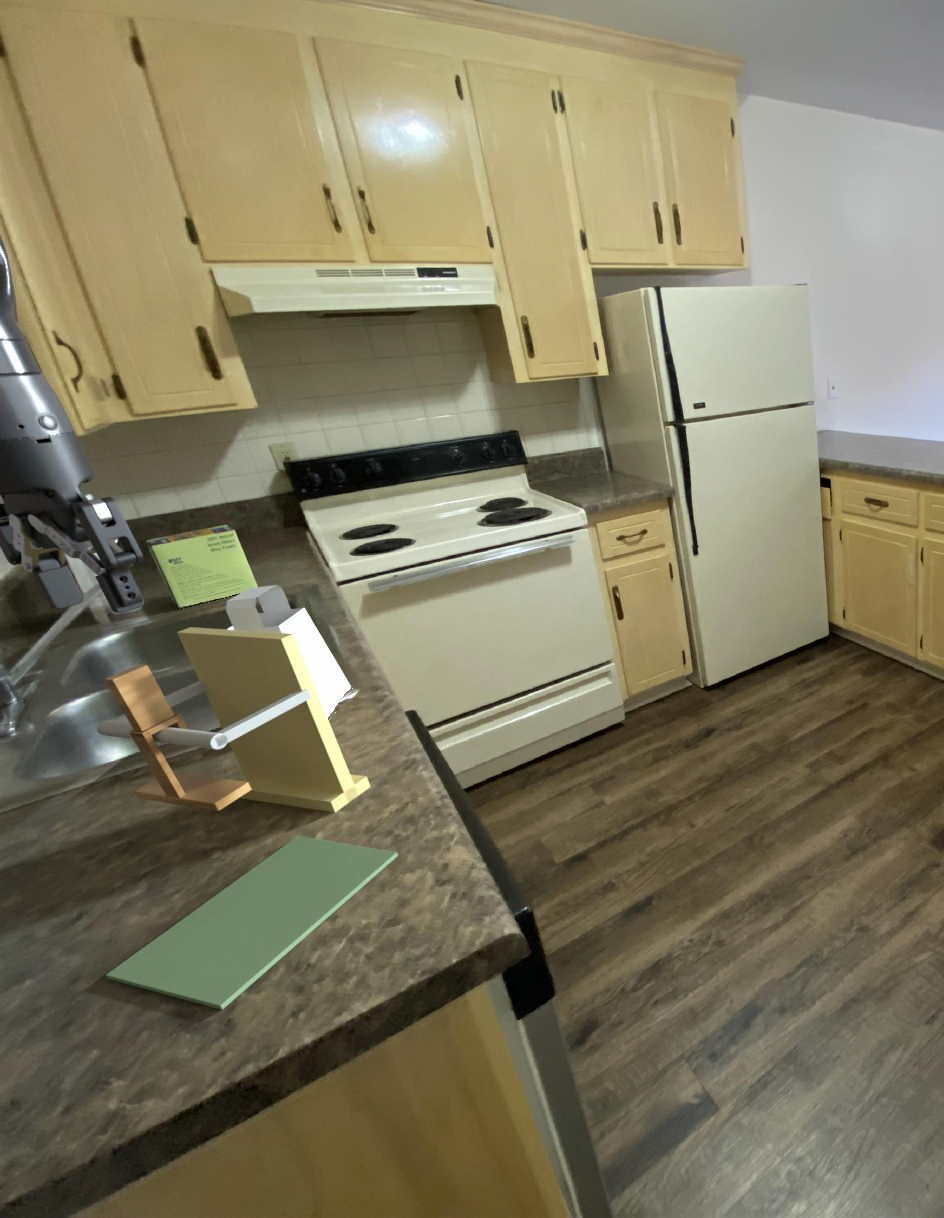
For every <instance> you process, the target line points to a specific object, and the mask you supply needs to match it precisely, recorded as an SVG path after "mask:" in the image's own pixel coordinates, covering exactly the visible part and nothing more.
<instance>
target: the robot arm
mask: <svg viewBox="0 0 944 1218" xmlns="http://www.w3.org/2000/svg"><path fill="white" fill-rule="evenodd" d="M95 477H96V473H95V471H94V468H93V466H92V463H91V462H90V460H89V458H88V455H87V454H86V451H85V449H84V447H83V445H82V443H81V440H80V439H79V437H78V435H77V433H76V430H75V429H74V426H73V424H72V422H71V420H70V418H69V415H68V413H67V411H66V409H65V407H64V405H63V404H62V401H61V400H60V398H59V396H58V395H57V393H56V392H55V390H54V388H53V387H52V386H51V385H50V383H49V381H48V379H47V377H46V376H45V374H43V370H42V368H41V366H40V363H39V361H38V359H37V357H36V355H35V353H34V351H33V348H32V347H31V344H30V342H29V341H28V338H27V336H26V334H25V333H24V331H23V329H22V327H21V325H20V323H19V319H18V311H17V299H16V292H15V287H14V283H13V276H12V271H11V265H10V259H9V255H8V251H7V247H6V244H5V242H4V239H3V238H2V234H0V496H1V498H2V499H0V549H1V551H2V553H3V555H4V557H5V559H6V560H7V562H8V563H9V564H10V565H11V566H18V565H21V566H22V568H23V569H24V570H25V572H27V573H32V575H33V577H34V578H35V580H36V582H37V584H38V585H39V588H40V590H41V591H42V593H43V595H44V597H45V599H46V601H47V603H48V604H49V606H50V607H51V608H53V609H62V610H63V609H66V608H70V607H72V606H75V605H76V606H77V605H79V604H80V605H81V604H82V603H83V602H84V599H85V598H84V596H83V593H82V592H81V589H80V587H79V585H78V583H77V581H76V579H75V577H74V576H73V574H72V572H71V570H70V568H69V566H68V565H65V563H66V556H67V557H69V558H72V559H79V560H80V561H81V562H82V563H83V564H84V565H85V566H86V567H87V568H89V570H90V571H92V573H94V574H95V576H94V577H95V579H96V581H97V583H98V585H99V588H100V589H101V592H102V593H103V595H104V598H105V600H106V602H107V604H108V605H109V607H110V610H111V611H112V612H114V613H116V614H117V613H119V614H125V613H127V612H131V611H135V610H137V609H141V608H142V607H144V605H145V603H146V602H145V599H144V597H143V595H142V593H141V591H140V588H139V587H138V585H137V583H136V580H135V578H134V576H133V573H132V572H131V569H130V568H131V567H133V566H134V565H135V564H136V563H139V562H143V561H144V554H143V553H142V550H141V548H140V545H139V544H138V542H137V540H136V538H135V537H134V534H133V533H132V531H131V528H130V527H129V525H128V522H127V520H126V519H125V516H124V515H123V513H122V511H121V509H120V507H119V505H118V503H117V501H116V500H115V499H114V498H113V497H111V496H106V497H104V496H103V497H100V498H99V497H98V498H92V499H89V498H88V497H87V496H86V495H85V493H84V492H83V491H82V489H81V485H82V484H86V483H89V482H92V481H93V480H94V479H95ZM118 541H119V542H120V544H121V546H122V548H123V549H122V548H121V547H120V546H119V544H118ZM95 554H96V555H95Z"/></svg>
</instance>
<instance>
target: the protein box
mask: <svg viewBox="0 0 944 1218" xmlns="http://www.w3.org/2000/svg"><path fill="white" fill-rule="evenodd" d="M144 542H145V543H146V546H147V548H148V550H149V553H150V555H151V557H152V559H153V561H154V564H155V565H156V567H157V570H158V572H159V574H160V577H161V578H162V580H163V583H164V585H165V587H166V589H167V591H168V593H169V595H170V597H171V600H172V602H173V601H174V602H173V603H174V604H175V606H176V605H177V606H176V607H177V608H178V607H183V606H189V605H194V604H198V603H200V602H206V601H210V600H214V599H219V598H224V599H226V598H225V597H228V598H230V597H229V596H232V595H235V594H239V593H242V592H244V591H246V590H247V589H249V588H256V587H259V586H258V583H257V581H256V579H255V575H254V574H253V572H252V569H251V567H250V564H249V563H248V560H247V557H246V554H245V552H244V549H243V547H242V545H241V542H240V540H239V537H238V535H237V532H236V530H235V529H234V528H232V527H230V526H228V525H227V524H222V525H217V526H213V527H208V528H207V527H206V528H201V529H197V530H192V531H186V532H181V533H176V534H172V535H166V536H161V537H155V538H151V539H147V540H145V541H144ZM232 597H233V596H232Z"/></svg>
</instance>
